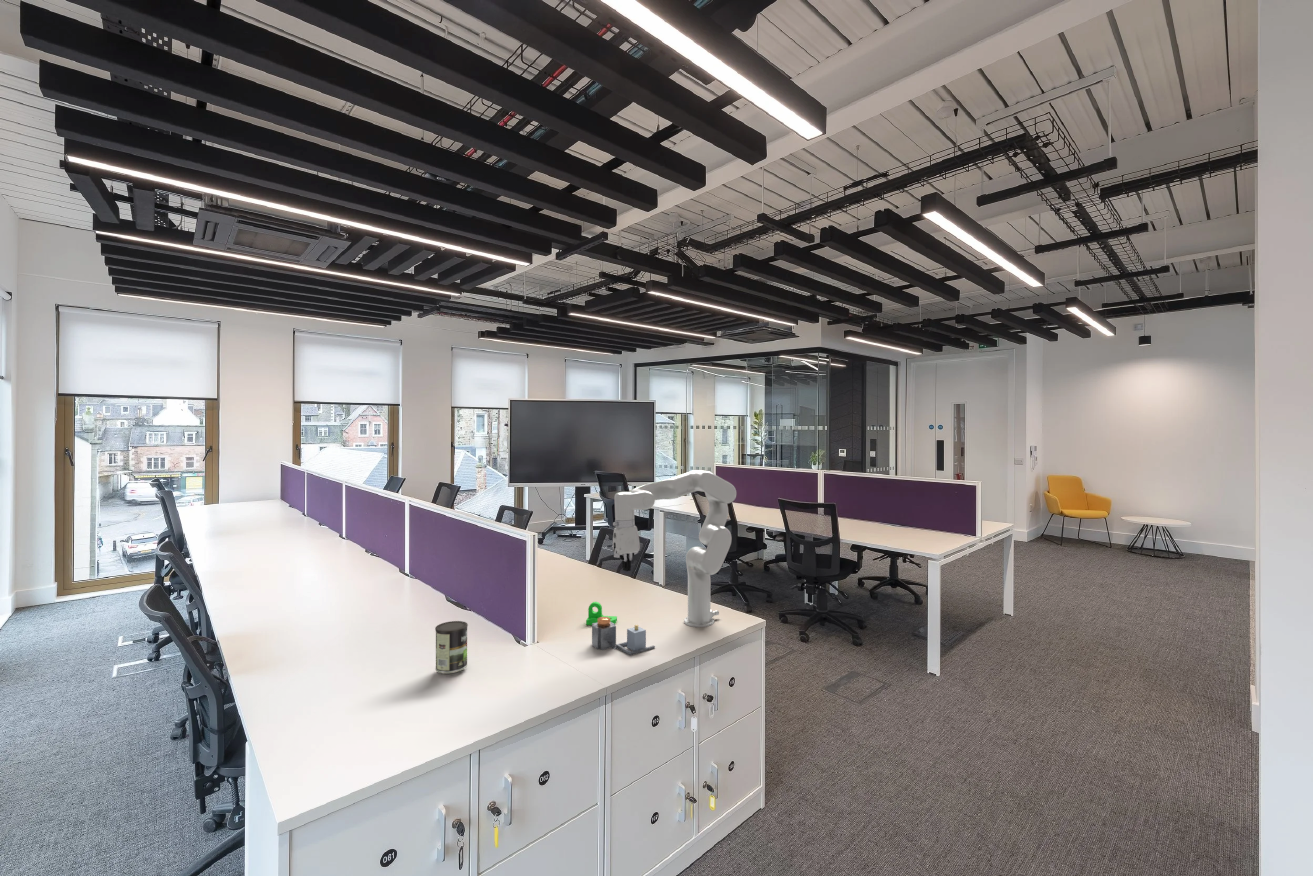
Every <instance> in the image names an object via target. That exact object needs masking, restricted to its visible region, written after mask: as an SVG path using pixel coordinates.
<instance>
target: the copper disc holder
mask: <svg viewBox="0 0 1313 876" xmlns="http://www.w3.org/2000/svg"><path fill="white" fill-rule="evenodd" d="M616 644H617V626H616V623H615V624H614V623H612V622H610V625H609V626H606V627H600V626H598V622H597V623H592V625H591V646H592V647H593V648H595V649H596V650H601V651H605V650H608V649H613V648H612V647H616Z"/></svg>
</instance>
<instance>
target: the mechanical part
mask: <svg viewBox="0 0 1313 876" xmlns="http://www.w3.org/2000/svg"><path fill="white" fill-rule="evenodd" d="M593 608H597V611H594V609H593ZM587 611H588V616H587V618H586V620H585V624H586V626H592V623H597V622H598V618H600V617H609V618H610V622H612V623H614V624H615V625H616V623H617V622H618V616H617V615H615V616H613V615H604V614H603V605H602V604H601V603H600V602H598V601H592V603H590V604H589V606H588V609H587Z"/></svg>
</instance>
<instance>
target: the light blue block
mask: <svg viewBox="0 0 1313 876" xmlns="http://www.w3.org/2000/svg"><path fill="white" fill-rule="evenodd" d="M646 630H647V629H645V628H643V627H641V626H639V625H638V624H635V625H634V627H630V628H627V629H626V637H627V638H626V642H627V646H626V649H629V650H630V651H635V650H639V649H642V648H646V647H647V631H646Z"/></svg>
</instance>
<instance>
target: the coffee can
mask: <svg viewBox="0 0 1313 876" xmlns="http://www.w3.org/2000/svg"><path fill="white" fill-rule="evenodd" d="M468 626H469V624H468V622H466V621H461V620H453V621H452V620H451V621H446V622H442V623H439V624H437V625H436V626H434V628H435V629H434V630H435V668H434V669H435V671H436V672H437V673H439V674H453V673H458V672H460V671H463V670H465V669H466V668H467V667H468Z"/></svg>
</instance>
